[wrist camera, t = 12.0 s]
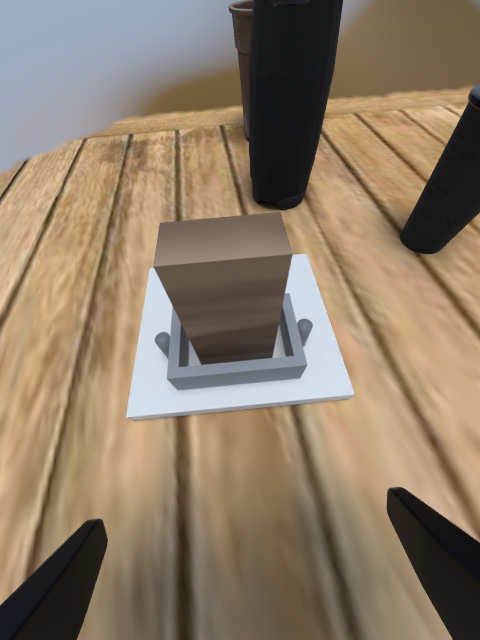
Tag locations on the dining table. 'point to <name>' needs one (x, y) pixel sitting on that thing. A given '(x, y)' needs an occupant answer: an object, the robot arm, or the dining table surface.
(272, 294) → the wooden rectangular pillar
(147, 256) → the dining table surface
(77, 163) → the dining table surface
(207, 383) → the white base with frame
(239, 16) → the plant pot
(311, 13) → the portable speaker
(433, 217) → the drinking cup
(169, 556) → the dining table surface
